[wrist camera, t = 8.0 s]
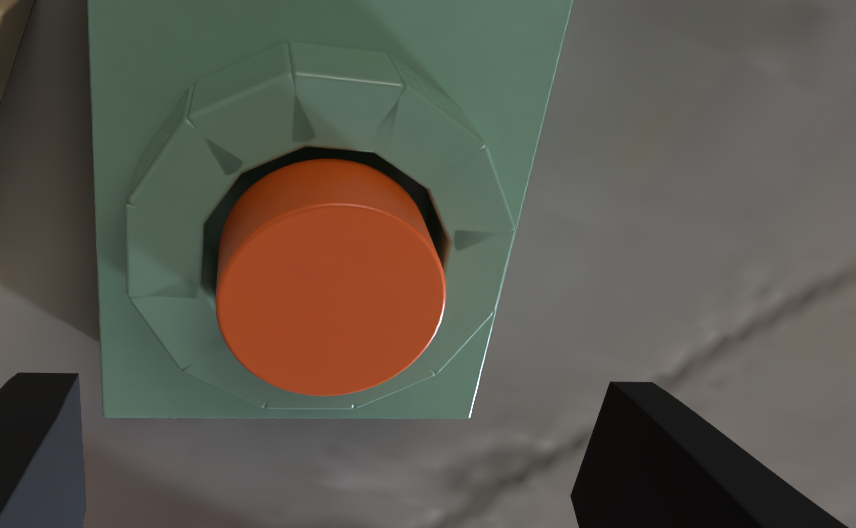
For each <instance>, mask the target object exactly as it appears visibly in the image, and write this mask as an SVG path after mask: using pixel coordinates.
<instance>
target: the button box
mask: <svg viewBox="0 0 856 528" xmlns="http://www.w3.org/2000/svg"><path fill="white" fill-rule="evenodd" d="M572 3H573V0H87V20H88V46H89V72H90V98H91V124H92V149H93V175H94V201H95V227H96V253H97V279H98V305H99V331H100V357H101V383H102V409H103V417H104V418H365V419H469V418H470V415H471V411H472V407H473V403H474V399H475V395H476V391H477V387H478V383H479V379H480V375H481V371H482V367H483V363H484V358H485V354H486V350H487V346H488V342H489V338H490V334H491V330H492V326H493V322H494V318H495V314H496V310H497V306H498V302H499V298H500V294H501V290H502V286H503V282H504V278H505V274H506V270H507V266H508V262H509V258H510V254H511V250H512V246H513V241H514V237H515V233H516V229H517V225H518V221H519V217H520V213H521V209H522V205H523V201H524V197H525V193H526V189H527V185H528V181H529V177H530V173H531V169H532V165H533V161H534V157H535V153H536V149H537V145H538V141H539V137H540V133H541V128H542V124H543V120H544V116H545V112H546V108H547V104H548V100H549V96H550V92H551V88H552V84H553V80H554V76H555V72H556V68H557V64H558V60H559V56H560V52H561V48H562V44H563V40H564V36H565V32H566V28H567V24H568V20H569V15H570V11H571V7H572ZM313 159H342V160H349V161H354V162H357V163H361V164H365V165H367V166H370V167H372V168H374V169H377V170H379V171H381V172H382V173H384V174H386V175H387V176H389V177H390V178H392V179H393V180H394V181H396V182H397V183H398V184H399V185H400V186H401V187H402V188H403V189H404V190H405V191H406V192H407V193H408V194H409V195H410V197H411V198H412V199H413V201H414V202H415V203H416V205H417V207H418V209H419V211H420V213H421V215H422V217H423V220H424V222H425V225H426V227H427V230H428V232H429V235H430V237H431V239H432V242H433V244H434V247H435V249H436V252H437V254H438V257H439V259H440V262H441V265H442V268H443V271H444V275H445V281H446V303H445V310H444V313H443V317H442V320H441V323H440V325H439V327H438V330H437V332H436V334H435V336H434V337H433V339H432V341H431V342H430V344H429V345H428V347H427V348H426V349H425V350H424V352H423V353H422V354H421V355H420V356H419V357H418V358H417V359H416V360H415V361H414V362H413V363H412V364H411V365H410V366H409V367H407V368H406V369H405V370H403V371H402V372H401V373H399V374H398V375H396V376H394V377H393V378H391V379H389V380H387V381H385V382H383V383H381V384H379V385H377V386H374V387H371V388H369V389H366V390H363V391H359V392H355V393H351V394H344V395H337V396H313V395H304V394H298V393H294V392H290V391H287V390H283V389H280V388H278V387H275V386H273V385H271V384H269V383H267V382H265V381H263V380H261V379H260V378H258V377H256V376H255V375H254V374H252V373H251V372H250V371H248V370H247V369H246V368H245V367H244V366H243V365H242V364H241V363H240V362H239V361H238V360H237V359H236V358H235V356H234V355H233V354H232V352H231V351H230V350H229V348H228V346H227V345H226V343H225V341H224V339H223V337H222V335H221V332H220V329H219V327H218V322H217V317H216V307H215V297H216V283H217V270H218V256H219V245H220V237H221V234H222V230H223V227H224V224H225V222H226V219H227V217H228V215H229V213H230V211H231V210H232V208H233V207H234V205H235V203H236V202H237V201H238V200H239V198H240V197H241V196H242V195H243V194H244V193H245V192H246V191H247V190H248V189H249V188H250V187H251V186H252V185H253V184H255V183H256V182H257V181H259V180H260V179H262V178H263V177H265V176H266V175H268V174H270V173H272V172H274V171H276V170H278V169H280V168H282V167H285V166H288V165H290V164H293V163H297V162H302V161H306V160H313Z"/></svg>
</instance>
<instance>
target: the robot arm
mask: <svg viewBox="0 0 856 528" xmlns="http://www.w3.org/2000/svg"><path fill="white" fill-rule="evenodd" d="M571 500H572V503H573V507H574V511H575V514H576V518H577V522H578V525H579V528H848V527H847V526H845V525H844V524H843V523H841V522H840V521H838V520H837V519H835V518H834V517H833V516H831V515H830V514H829V513H827V512H826V511H824V510H823V509H822V508H820V507H819V506H818V505H816V504H815V503H813V502H812V501H811V500H809V499H808V498H807V497H805V496H804V495H803V494H801V493H800V492H799V491H797V490H796V489H795V488H793V487H792V486H791V485H789V484H788V483H787V482H785V481H784V480H783V479H781V478H780V477H779V476H777V475H776V474H775V473H773V472H772V471H771V470H769V469H768V468H767V467H766V466H764V465H763V464H762V463H760V462H759V461H758V460H756V459H755V458H754V457H752V456H751V455H750V454H749V453H747V452H746V451H745V450H743V449H742V448H741V447H739V446H738V445H737V444H736V443H734V442H733V441H732V440H730V439H729V438H728V437H727V436H725V435H724V434H723V433H721V432H720V431H719V430H717V429H716V428H715V427H714V426H712V425H711V424H710V423H708V422H707V421H706V420H704V419H703V418H702V417H700V416H699V415H698V414H696V413H695V412H694V411H692V410H691V409H690V408H688V407H687V406H686V405H684V404H683V403H682V402H680V401H679V400H678V399H676V398H675V397H673V396H672V395H671V394H669V393H668V392H666V391H665V390H663V389H662V388H660V387H659V386H657V385H656V384H654V383H653V382H610V384H609V387H608V389H607V392H606V395H605V398H604V401H603V404H602V407H601V410H600V412H599V415H598V418H597V421H596V424H595V427H594V430H593V433H592V435H591V438H590V441H589V444H588V447H587V450H586V453H585V456H584V459H583V461H582V464H581V467H580V470H579V473H578V476H577V479H576V482H575V484H574V487H573V490H572V493H571ZM85 511H86V497H85V479H84V461H83V443H82V425H81V407H80V389H79V374H78V373H17V374H16V375H15V376H13V377H12V378H11V379H10V380H8V381H7V382H6V383H5V384H4V386H3V387H2V388H1V389H0V528H83V523H84V517H85Z"/></svg>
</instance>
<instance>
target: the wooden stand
mask: <svg viewBox="0 0 856 528" xmlns="http://www.w3.org/2000/svg"><path fill="white" fill-rule="evenodd" d="M33 3H34V0H0V102H1V99H2V96H3V93H4V90H5V87H6V84H7V81H8V78H9V75H10V72H11V69H12V66H13V63H14V60H15V57H16V54H17V51H18V48H19V45H20V42H21V39H22V36H23V33H24V30H25V27H26V24H27V21H28V18H29V15H30V12H31V9H32V6H33Z"/></svg>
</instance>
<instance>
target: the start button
mask: <svg viewBox="0 0 856 528" xmlns="http://www.w3.org/2000/svg"><path fill="white" fill-rule="evenodd" d="M445 303H446V281H445V275H444V271H443V268H442V265H441V262H440V259H439V257H438V254H437V252H436V249H435V247H434V244H433V242H432V239H431V237H430V235H429V232H428V230H427V227H426V225H425V222H424V220H423V217H422V215H421V213H420V211H419V209H418V207H417V205H416V203H415V202H414V201H413V199H412V198H411V197H410V195H409V194H408V193H407V192H406V191H405V190H404V189H403V188H402V187H401V186H400V185H399V184H398V183H397V182H396V181H394V180H393V179H392V178H390V177H389V176H387V175H386V174H384V173H382V172H381V171H379V170H377V169H374V168H372V167H370V166H367V165H365V164H361V163H357V162H354V161H349V160H342V159H313V160H306V161H302V162H297V163H293V164H290V165H288V166H285V167H282V168H280V169H278V170H276V171H274V172H272V173H270V174H268V175H266V176H265V177H263V178H262V179H260V180H259V181H257V182H256V183H255V184H253V185H252V186H251V187H250V188H249V189H248V190H247V191H246V192H245V193H244V194H243V195H242V196H241V197H240V198H239V200H238V201H237V202H236V203H235V205H234V207H233V208H232V210H231V211H230V213H229V215H228V217H227V219H226V222H225V224H224V227H223V230H222V234H221V237H220V245H219V256H218V270H217V283H216V297H215V307H216V317H217V322H218V327H219V329H220V332H221V335H222V337H223V339H224V341H225V343H226V345H227V346H228V348H229V350H230V351H231V352H232V354H233V355H234V356H235V358H236V359H237V360H238V361H239V362H240V363H241V364H242V365H243V366H244V367H245V368H246V369H247V370H248V371H250V372H251V373H252V374H254V375H255V376H256V377H258V378H260V379H261V380H263V381H265V382H267V383H269V384H271V385H273V386H275V387H278V388H280V389H283V390H287V391H290V392H294V393H298V394H304V395H313V396H337V395H344V394H351V393H355V392H359V391H363V390H366V389H369V388H371V387H374V386H377V385H379V384H381V383H383V382H385V381H387V380H389V379H391V378H393V377H394V376H396V375H398V374H399V373H401V372H402V371H403V370H405V369H406V368H407V367H409V366H410V365H411V364H412V363H413V362H414V361H415V360H416V359H417V358H418V357H419V356H420V355H421V354H422V353H423V352H424V350H425V349H426V348H427V347H428V345H429V344H430V342H431V341H432V339H433V337H434V336H435V334H436V332H437V330H438V327H439V325H440V323H441V320H442V317H443V313H444V310H445Z"/></svg>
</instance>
